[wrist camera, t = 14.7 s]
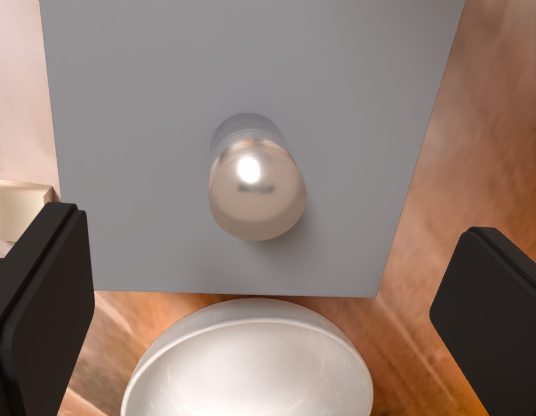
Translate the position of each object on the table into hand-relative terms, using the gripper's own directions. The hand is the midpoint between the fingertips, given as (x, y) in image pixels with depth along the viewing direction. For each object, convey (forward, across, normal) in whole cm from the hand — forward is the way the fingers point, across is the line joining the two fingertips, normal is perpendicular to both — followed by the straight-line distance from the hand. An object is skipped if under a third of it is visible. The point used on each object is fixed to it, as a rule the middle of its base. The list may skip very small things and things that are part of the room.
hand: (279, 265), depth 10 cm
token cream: (+20, +15, +10) cm, 27 cm away
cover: (+20, 0, +1) cm, 20 cm away
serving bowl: (+20, -3, +25) cm, 32 cm away
